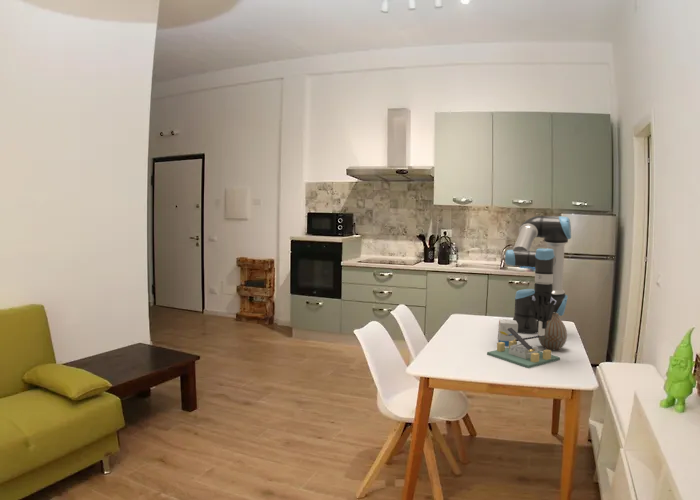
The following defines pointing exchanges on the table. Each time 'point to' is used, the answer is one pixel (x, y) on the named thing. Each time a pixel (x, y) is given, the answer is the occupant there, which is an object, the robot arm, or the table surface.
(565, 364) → the table surface
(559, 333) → the vase
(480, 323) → the table surface
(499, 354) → the board
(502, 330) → the ink box
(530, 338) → the strap
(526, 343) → the strap
